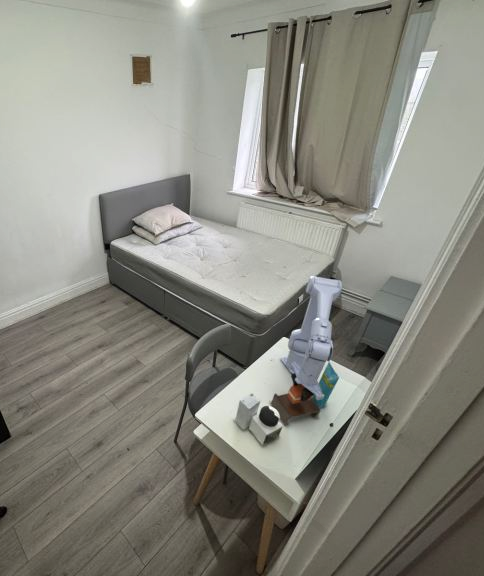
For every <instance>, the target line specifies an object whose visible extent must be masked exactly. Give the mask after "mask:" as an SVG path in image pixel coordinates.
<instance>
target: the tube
mask: <svg viewBox="0 0 484 576" xmlns="http://www.w3.org/2000/svg"><path fill="white" fill-rule="evenodd" d="M327 362H328V361H327ZM339 380H340V377H339V375H338V373H337V371H335V369H334V366H332V364H331V362H330V361H329V362H328V363H327V364H326V367H325V369H324V370H323V373H322V374H321V377H320V379H319V381H318V384H319V386H320V389H321V391H322V393H323V394H324V398H323V399H322V400H317V399H316V396H315V395H313V397H312V398H311V399H312V400H313V401H314V402H315V404H316V405H317V406H318V408H319V409H323V408H325V406H326V404H327V402H328V400H329V398H330V397H331V394H332V392H333V391H334V389H335V387H336V385H337V383H338V381H339Z"/></svg>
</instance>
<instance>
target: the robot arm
mask: <svg viewBox="0 0 484 576" xmlns="http://www.w3.org/2000/svg"><path fill="white" fill-rule="evenodd" d="M342 290H343V282H342V281H341V280H340V279H338V280H337V279H331V278H325V277H319V276H314V275H311V276H310V277H309V278H308V282H307V286H306V288H305V293H306V294H308V295H309V296H310V298H309V301H308V305H307V308H306V312H305V314H304V316H303V317H304V318H303V321H302V324H301V327H300V328H299V329H294V330H292V331H291V334H290V336H289V339H288V341H287V348H288V350H289V351H288V354H287V356H286V357H285V358H281V362H282V363H283V364H284V366H285V367H286V368H287V370H289V372H290V377H291V381H292V386H296V385H301V384H302V385H303V386H305V387H306V388H303V389H302V396H301V401H302V402H303V401H307V400H308V399H309V398H310V397H311V396H313V395H315V396H316V399H317V400H322V399H323V398H324V394H323V393H322V391H321V389H320V386H319V384H318V383H319V381H318V380H319V377H320V375H321V373H322V371H323V369H324V367H325V364H326V362H330V361H331V359H332V356H333V354H334V344H333V340H332V332H333V331H332V330H333V324H332V322H331V321H330V320H329V318H330V316H331V315H330V314H331V310H332V304H333V302H335V301H337V299H338V297H340V295H341V293H342Z"/></svg>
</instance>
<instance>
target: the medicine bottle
mask: <svg viewBox="0 0 484 576" xmlns="http://www.w3.org/2000/svg"><path fill="white" fill-rule="evenodd" d="M280 420H281V418H280V415H279V413H278V411H277V410H276V409H275V408H274V407H273V406H272V405H271V406H270V405H264V406H262V407H261V408H260V411H259V413H257V415H255V416H253V417H252V419H251V423H250V426H249V427H248V429H249V431H250V432H251V433H252V434H253V436H254V437H255V438H256V439H257V441H258V442H259V443H260V444H261V446H265V445H267V444H269V443H271V442H273V441H274V440H276V439H278V438H279V437H280V434H281V432H282V429H283V426H284V424H282V423H281V422H280Z"/></svg>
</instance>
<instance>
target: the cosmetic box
mask: <svg viewBox="0 0 484 576" xmlns="http://www.w3.org/2000/svg"><path fill="white" fill-rule="evenodd" d="M260 404H261V400H260V399H259V398H258V397H257V396H256V395H254V393H252V392H250V393H248V394H247V395H246V396H244V397H243V398H241V399H240V400H239V403H238V405H237V410H236V415H235V419H234V422H235V423H236V424H237V425H238V426H239V427H240V428H241V429H242V430H243V431H244V430H246V429H247V428H249V426H250V423H251V419H252V417H253V416H255V415H257V414H258V412H259V409H260Z"/></svg>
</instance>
